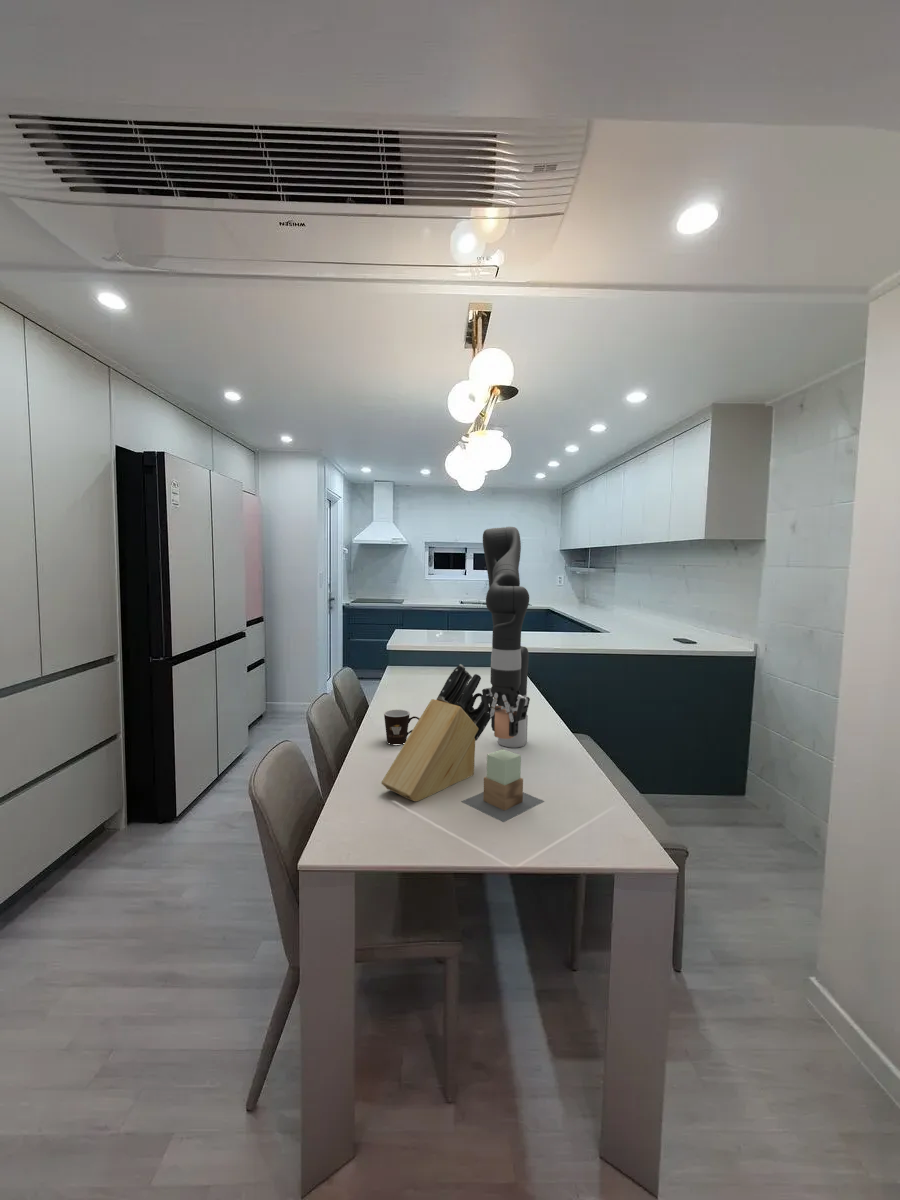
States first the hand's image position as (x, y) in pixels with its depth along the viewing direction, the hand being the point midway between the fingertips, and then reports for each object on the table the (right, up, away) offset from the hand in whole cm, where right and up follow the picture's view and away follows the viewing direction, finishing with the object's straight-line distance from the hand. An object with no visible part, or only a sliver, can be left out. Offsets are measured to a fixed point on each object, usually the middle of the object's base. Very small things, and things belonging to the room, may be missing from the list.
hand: (504, 732), depth 130 cm
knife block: (-16, -17, +15) cm, 28 cm away
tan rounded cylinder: (0, -1, 0) cm, 1 cm away
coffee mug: (-30, -15, +44) cm, 56 cm away
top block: (0, -12, +1) cm, 12 cm away
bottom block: (0, -18, +1) cm, 18 cm away
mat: (0, -18, +1) cm, 18 cm away
